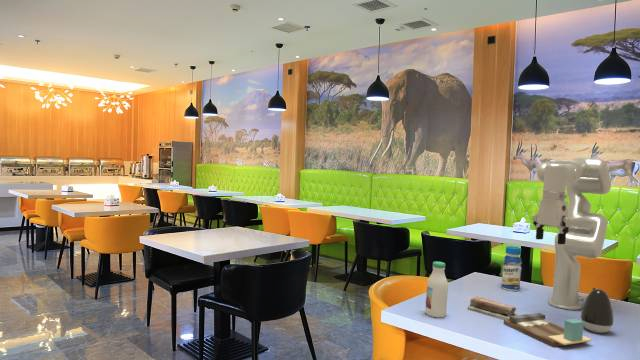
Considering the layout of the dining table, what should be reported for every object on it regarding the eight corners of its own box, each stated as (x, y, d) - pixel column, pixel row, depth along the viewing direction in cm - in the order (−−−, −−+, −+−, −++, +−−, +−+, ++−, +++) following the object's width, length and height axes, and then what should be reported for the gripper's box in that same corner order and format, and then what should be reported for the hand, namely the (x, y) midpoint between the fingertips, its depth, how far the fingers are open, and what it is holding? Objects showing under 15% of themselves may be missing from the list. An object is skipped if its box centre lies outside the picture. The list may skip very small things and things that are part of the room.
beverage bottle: (522, 289, 218) (525, 247, 217) (516, 292, 211) (519, 249, 211) (504, 285, 223) (508, 244, 222) (497, 288, 217) (501, 246, 216)
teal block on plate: (575, 334, 157) (577, 315, 156) (591, 340, 151) (593, 321, 151) (548, 337, 152) (549, 318, 151) (563, 345, 146) (565, 324, 146)
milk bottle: (447, 313, 176) (451, 262, 175) (444, 319, 169) (447, 266, 168) (427, 309, 179) (430, 259, 178) (423, 315, 172) (426, 262, 171)
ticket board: (535, 320, 174) (536, 311, 173) (586, 341, 154) (587, 331, 154) (503, 324, 167) (504, 314, 167) (552, 347, 148) (553, 336, 148)
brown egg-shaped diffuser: (605, 327, 170) (609, 287, 170) (617, 337, 160) (621, 294, 159) (575, 323, 172) (579, 283, 172) (585, 333, 162) (588, 291, 162)
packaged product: (467, 298, 182) (478, 294, 189) (466, 310, 183) (478, 305, 190) (512, 310, 170) (523, 305, 177) (511, 323, 170) (522, 318, 177)
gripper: (581, 198, 165) (577, 245, 166) (541, 194, 181) (538, 237, 182) (566, 198, 162) (563, 246, 163) (527, 194, 178) (524, 237, 179)
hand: (550, 241), depth 173 cm, fingers open, 9 cm apart
